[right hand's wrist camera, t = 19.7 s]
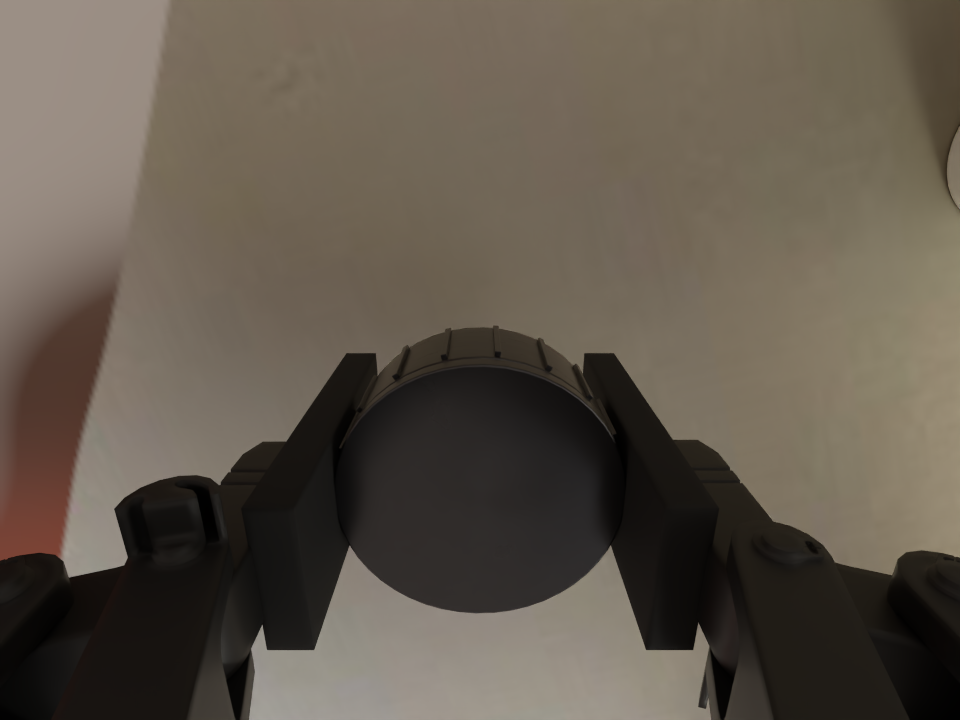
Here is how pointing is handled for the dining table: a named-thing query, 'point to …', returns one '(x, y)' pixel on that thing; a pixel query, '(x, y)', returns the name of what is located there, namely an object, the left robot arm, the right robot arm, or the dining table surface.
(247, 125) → the dining table surface
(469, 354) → the lid
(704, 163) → the dining table surface
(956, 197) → the jar
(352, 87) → the dining table surface
